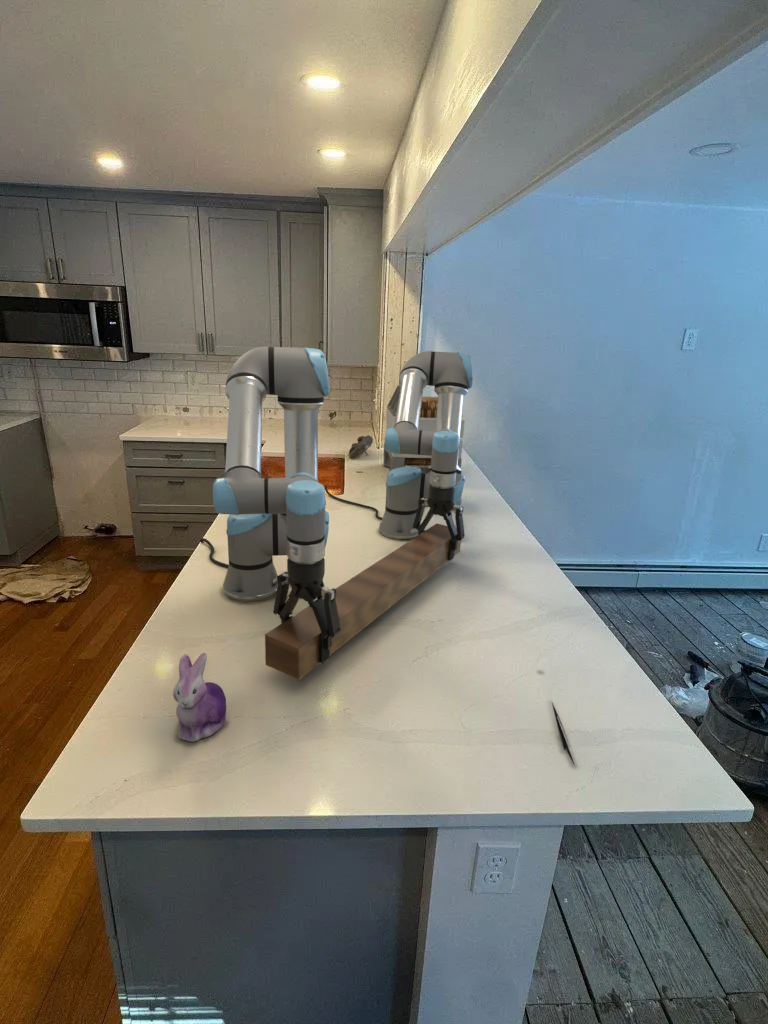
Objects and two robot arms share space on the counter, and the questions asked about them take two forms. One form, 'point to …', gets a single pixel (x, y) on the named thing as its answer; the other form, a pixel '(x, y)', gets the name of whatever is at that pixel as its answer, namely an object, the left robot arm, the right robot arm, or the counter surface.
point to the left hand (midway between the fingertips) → (306, 651)
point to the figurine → (198, 701)
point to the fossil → (360, 446)
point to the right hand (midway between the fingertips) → (436, 554)
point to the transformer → (425, 423)
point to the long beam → (358, 602)
